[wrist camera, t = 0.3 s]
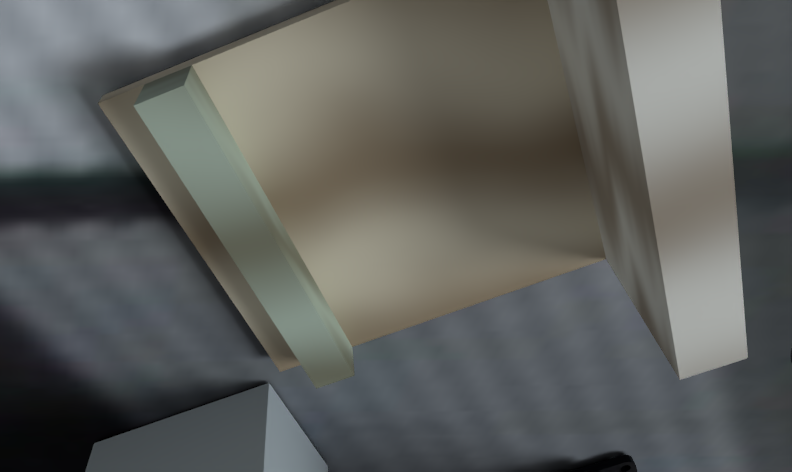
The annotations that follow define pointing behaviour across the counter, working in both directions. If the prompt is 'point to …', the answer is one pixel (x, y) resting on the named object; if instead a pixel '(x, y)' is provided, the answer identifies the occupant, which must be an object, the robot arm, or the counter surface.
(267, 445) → the cabinet block
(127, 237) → the counter surface
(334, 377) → the cleat board
